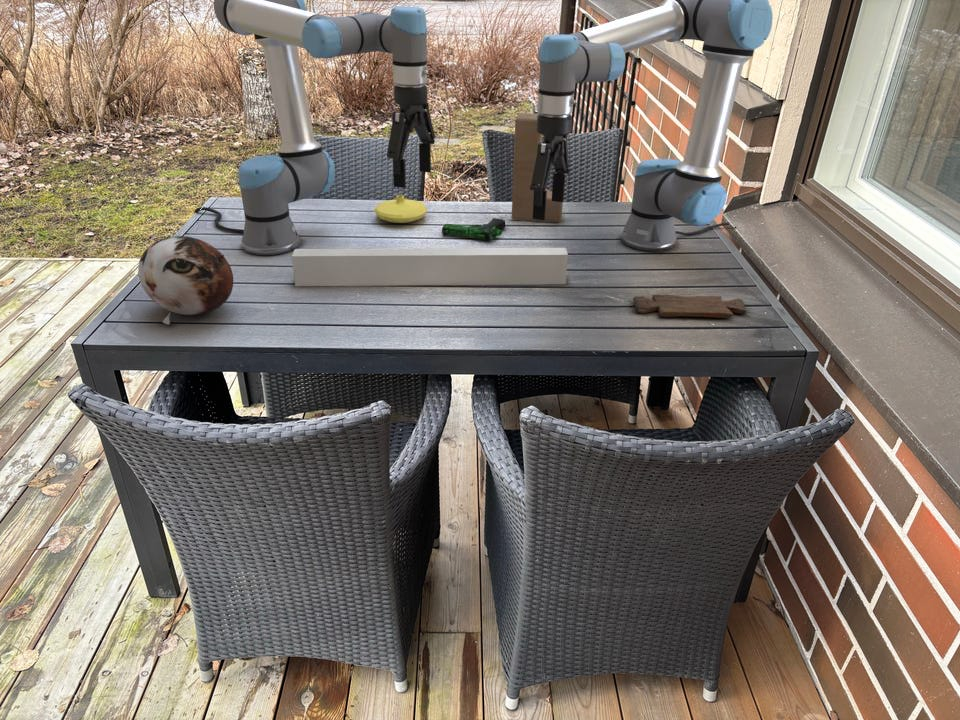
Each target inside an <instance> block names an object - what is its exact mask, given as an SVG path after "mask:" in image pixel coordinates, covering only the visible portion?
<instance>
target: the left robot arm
mask: <svg viewBox="0 0 960 720" xmlns="http://www.w3.org/2000/svg"><path fill="white" fill-rule="evenodd" d="M213 12H214V14H215V17H216V19H217V22H218V23H219V24H220V25H221V26H222V27H223V28H224V29H225V30H227V31H228V32H232V33H233V34H237V35H240V36H246V37H247V36H252V35H253V36H254V41H255V42H256V43H257V44H258V45H260V47H262V50H263V55H264V60H265V65H266V69H267V74H268V79H269V83H270V88H271V89H270V90H271V95H272V99H273V104H274V109H275V113H276V118H277V123H278V128H279V132H280V137H281V142H282V143H281V145H280V147H279V148H278V151H277V152H278V155H276V154H265V155H257V156H253V157H251V158H248V159H246V160H244V161H242V162H241V163H240V164H239V167H238V168H237V169H238V170H237V174H238V185H239V190H240V196H241V201H242V208H243V212H244V213H243V215H244V219H245V220H244V226H243V228H244V229H240V228H233V227H232V228H231V227H227V226H224V225H222V224H220V222H219V221H220V219H222V216H223V215H222V213H221V212H220V211H218V210H216V209H214V208H210V207H207V206H206V207H205V206H201V207H197V208H196V209H194V211H193V213H194V214H198V213H199V212H201V211H206V212H210V213H212V214H215V215H217V216H216V217H215V219H214V224H215V226H216V227H217V228H219V229H220V230H223V231H225V232H231V233H240V234H243V235H242V237H241V246H242V249H243V251H244V252H246V253H248V254H252V255H255V256H256V255H257V256H275V255H281V254H282V255H283V254H285V253H289V252H291V251H294V249H298V247H299V246H300V244H301V241H300V235H299V233H298V231H297V228H296V226H295V224H294V223H293V220H292V218H291V216H290V207H289V204H291V203H295V202H298V201H301V200H305V199H309V198H313V197H318V196H320V195H321V194H324V193H326V192H329V190H330V189H332V186H333V184H334V183H335V179H336V167H335V163H334V161H333V158H331V155H330V154H329V153H328V152H327V151H325V150H323V147H322V144H321V143H320V142H318V141H317V139H316V138H315V134H314V130H313V124H312V119H311V113H310V108H309V102H308V97H307V91H306V85H305V79H304V76H303V70H302V65H301V64H302V63H301V60H300V55H299V54H300V53H299V48H302V49H304V50H305V51H306V52H307V53H308V54H309V55H310V56H311V57H312V58H315V59H327V60H329V59H333V58H337V57H338V58H339V57H345V56H350V55H351V56H352V55H360V54H367V53H375V52H377V53H378V52H380V53H387V54H388V53H389V54H391V55H392V82H393V84H394V86H393V101H394V103H395V104H396V105H398V106H399V111H398V112H397V111H393V112H392V113H391V114H392V115H391V117H392V118H391V127H390V128H391V129H390V134H389V140H388V144H387V152H386V158H387V159H391V160H392V177H393V187H395V188H400V189H405V188H406V187H407V183H406V158H404V155H405V152H406V151H405V150H406V148H407V145H408V141H409V137H410V134H411V133H413V131H415V132H416V135H417V137H418V139H419V141H420V143H418V154H419V155H418V156H419V157H418V159H419V172H423V173H424V172H425V173H431V172H432V151H431V149H432V148H431V147H432V146H431V145H435V143H436V134H435V130H434V126H433V122H432V118H431V113H430V104H429V102H428V100H429V99H428V86H427V85H426V84H427V83H428V75H429V70H428V65H427V64H428V60H427V59H428V58H427V57H428V56H427V55H428V53H427V50H428V49H427V47H428V46H427V44H428V43H427V41H428V40H427V39H428V35H427V34H428V28H427V17H426V11H425V10H424V9H423V8H421V7H417V6H395V7H392V8H391V10H390V15H386V14H379V13H375V12H371V11H370V12H359V13H357V14H355V15H350V16H349V15H348V16H337V17H335V16H328V15H324V14H320V13H317V12H312V11H308V10H307V6H306V3H305V0H213ZM298 47H299V48H298ZM202 207H203V208H202ZM201 208H202V209H201ZM200 209H201V210H200Z"/></svg>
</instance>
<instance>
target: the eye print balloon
mask: <svg viewBox="0 0 960 720" xmlns="http://www.w3.org/2000/svg"><path fill="white" fill-rule="evenodd" d="M137 267H138V269H137V272H138V273H137V274H138V275H137V276H138V280H139V283H140V285H141V287H142V290H143V291H144V292H145V293H146V294H147V296H148V298H150V299H151V300H152V301H153V302H154V303H155V304H157V305H158V306H160V307H161V308H163V309H165V310H167V311H169V313H168V314H167V316H166V317H165V318H164V319H162V321H161V322H162V323H163V324H165V325H168V326H170V325H171V322H170V321H171V312H172V313H174V314H179V315H185V316H200V315H205V314H209V313H211V312H214V311H216V310H218V309H219V308H221V307H222V306H223V305H224V304H225V303H226V302H227V300H228V299H229V298H230V296H231V295H232V291H233V288H234V274H233V270H232V268H231V265H230V263H229V262H228V260H227V258H226V257H225V254H222V252H221V251H220V250H218V249H217V248H216V247H214V246H213V245H211V244H210V243H208V242H207V241H204V240H201V239H199V238H195V237H191V236H184V235H175V236H174V235H173V236H168V237H163V238H160V239H158V240H156V241H155V242H153V243H151V244H150V245H149V246H148V247H147V248H146V249H145V250H144V251H143V252H142V254H141V257H140V259H139V261H138V266H137Z"/></svg>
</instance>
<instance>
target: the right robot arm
mask: <svg viewBox="0 0 960 720" xmlns="http://www.w3.org/2000/svg"><path fill="white" fill-rule="evenodd" d="M769 1H770V0H663V1H662V2H661V3H660V4H659V5H658V6H657V7H653V8H651V9H647V10H645V11H641V12H638V13H635V14H632V15H628V16H625V17H622V18H619V19H615V20H612V21H609V22H605V23H603V24H600V25H596V26H593V27H589V28H586V29H583V30H580V31H577V32H573V33H570V34H563V33H562V34H548V35H546V36H543V38H542V39H541V40H542V41H541V42H540V44H539V48H538V51H537V53H538V60H539V76H538V77H539V78H538V82H539V83H538V92H537V94H538V95H537V106H536V107H537V108H536V109H537V113H538V114H539V115H538V116H537V129H536V130H537V132H538V133H539V134H542V137H543V141H542V143H538V150H537V157H536V162H535V167H534V173H533V178H532V183H531V186H530V190H534V200H533V218H532V219H538V220H545V213H546V198H547V191H546V189H547V185H548V181H549V178H550V174H551V170H552V167H553V168H554V173H553V175H552V189H551V191H552V201H555V202H563V203H564V197H565V185H566V174H567V175H569V174H570V171H571V170H570V159H569V147H568V146H569V145H568V135H570V134H571V132H572V124H573V116H572V115H571V114H572V113H573V112H574V111H573V109H574V105H576V103H577V100H576V99H574V95H575V89H576V84H586V83H598V82H599V83H600V82H604V83H606V82H609V81H615V80H617V79H619V78H620V77H621V76H622V75H623V73H624V71H625V68H626V59H627V58H626V53H629V52H632V51H635V50H636V51H637V50H639V49H643V48H645V47H649V46H651V45H654V44H657V43H658V44H659V43H660V42H663V41H666V42H668V43H675V42H678V41H683V40H693V41H699V42H703V44H702V48H701V52H702V54H703V55H704V57H705V64H704V70H703V73H702V77H701V82H700V87H699V91H698V95H697V99H696V100H697V101H696V104H695V108H694V113H693V118H692V122H691V126H690V131H689V135H688V138H687V143H686V147H685V152H684V157H683V160H682V161H681V160H678V159H671V158H653V159H646V160H642V161H639V163H638V164H637V166H636V171H635V174H634V183H633V192H632V200H631V209H630V215H629V217H628V218H627V220H626V223H625V225H624V227H623V230H622V232H621V236H620V241H621V242H622V243H623V245H624V246H627V247H629V248H630V249H634V250H638V251H644V252H666V251H669V250H672V249H674V248H675V247H676V244H677V235H682V236H692V235H697V234H701V233H704V232H705V231H707V230H710V229H714V228H717V227H723V226H730V227H732V226H731V225H729V223H730V222H721V223H718V224H712V225H708V224H710V223H712V222H713V221H714V219H716V218H717V217H718V216H719V215H720V214H721V212H722V211H723V209H724V208H725V205H726V202H727V197H728V196H727V191H726V188H725V187H724V186H723V184H721V181H722V177H723V172H722V171H721V169H720V167H719V163H720V160H721V156H722V152H723V148H724V144H725V140H726V136H727V131H728V128H729V124H730V120H731V116H732V113H733V107H734V104H735V100H736V96H737V92H738V88H739V85H740V81H741V77H742V72H743V69H744V65H745V64H746V63H747V62H749V61H750V60H751V59H752V58H753V56H754V52H755V50H756V49H759V48H760V47H762V45H764V43H765V41H766V40H767V39H768V38H769V36H770V33H771V30H772V27H773V19H774V17H773V9H772V5H771V4H770V2H769ZM538 184H540V185H538ZM674 218H675V219H677V220H679V221H681V222H682V223H684V224H688V225H691V226H694V227H702V226H705V227H704V228H702V229H698V230H695V231H690V232H683V231H679V230H676V227H675V221H674ZM706 225H708V226H706Z"/></svg>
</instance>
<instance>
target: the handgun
mask: <svg viewBox="0 0 960 720" xmlns="http://www.w3.org/2000/svg"><path fill="white" fill-rule="evenodd" d="M505 228H506V220H505V219H503V218H497V217H492V219H491V220H490V221H489V222H488V223H483V224H482V225H479V224H472V225H459V224H453V223H445V224H443V226H442V227H441V235H446V236H454V237H462V238H469V239H470V238H471V239H474V240H479V241H484V242H491V241H492V240H494V239H495V238H497V237H500V236H502V230H504V229H505Z"/></svg>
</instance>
